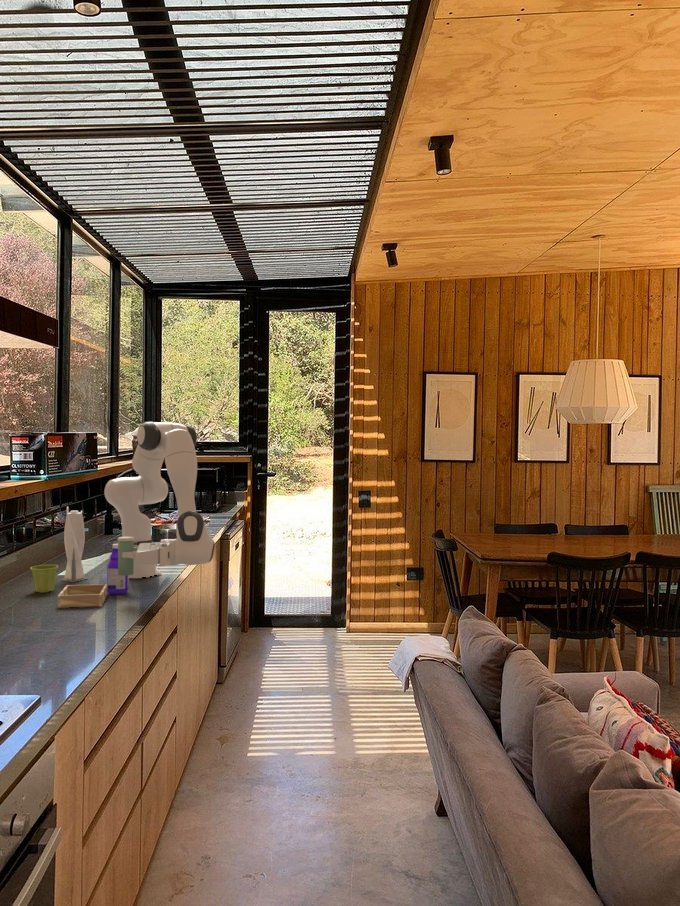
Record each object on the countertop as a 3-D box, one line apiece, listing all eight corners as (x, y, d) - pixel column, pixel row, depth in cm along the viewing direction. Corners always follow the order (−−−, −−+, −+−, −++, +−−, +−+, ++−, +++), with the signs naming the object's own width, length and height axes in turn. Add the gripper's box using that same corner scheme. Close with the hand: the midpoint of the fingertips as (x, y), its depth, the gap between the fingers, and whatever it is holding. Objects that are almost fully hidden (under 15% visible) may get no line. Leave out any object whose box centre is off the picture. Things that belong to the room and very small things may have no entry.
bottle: (130, 591, 278) (130, 542, 277) (126, 595, 272) (126, 545, 271) (109, 591, 277) (109, 542, 277) (105, 595, 272) (105, 545, 271)
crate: (66, 596, 268) (66, 585, 268) (107, 595, 271) (107, 584, 271) (57, 608, 251) (57, 595, 251) (101, 606, 254) (101, 594, 254)
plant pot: (28, 594, 272) (28, 569, 272) (31, 589, 281) (31, 565, 281) (57, 593, 274) (57, 568, 274) (59, 588, 284) (59, 564, 283)
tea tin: (118, 572, 263) (118, 536, 262) (134, 572, 264) (134, 536, 263) (116, 575, 258) (117, 539, 257) (133, 575, 259) (133, 538, 258)
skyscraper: (57, 580, 298) (57, 506, 297) (74, 577, 305) (74, 505, 304) (73, 582, 294) (73, 508, 293) (89, 579, 301) (89, 506, 301)
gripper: (166, 538, 273) (125, 538, 270) (164, 547, 253) (120, 548, 250) (166, 556, 273) (125, 557, 271) (164, 567, 253) (120, 567, 250)
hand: (123, 552), depth 260 cm, fingers closed on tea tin, 5 cm apart
